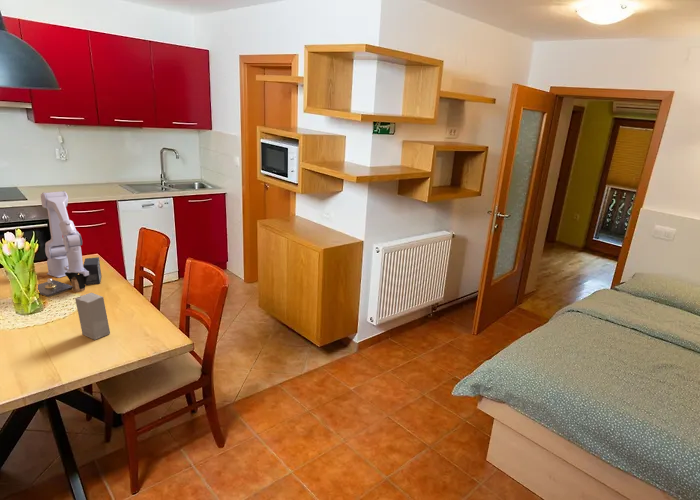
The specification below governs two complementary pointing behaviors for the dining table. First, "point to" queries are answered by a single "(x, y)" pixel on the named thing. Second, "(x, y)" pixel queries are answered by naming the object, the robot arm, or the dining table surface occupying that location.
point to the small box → (93, 270)
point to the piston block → (53, 287)
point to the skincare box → (92, 315)
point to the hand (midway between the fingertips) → (78, 287)
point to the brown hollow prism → (76, 285)
